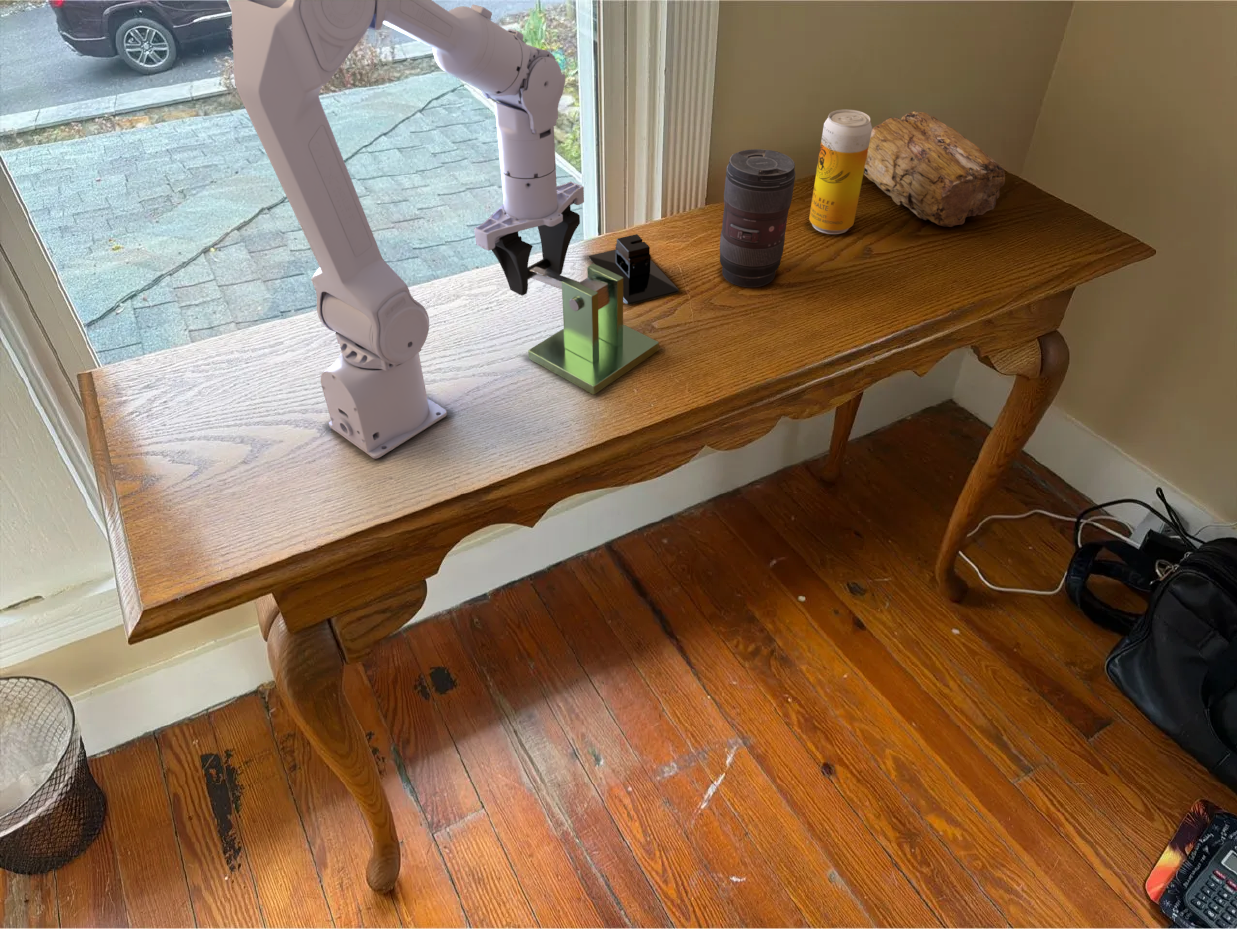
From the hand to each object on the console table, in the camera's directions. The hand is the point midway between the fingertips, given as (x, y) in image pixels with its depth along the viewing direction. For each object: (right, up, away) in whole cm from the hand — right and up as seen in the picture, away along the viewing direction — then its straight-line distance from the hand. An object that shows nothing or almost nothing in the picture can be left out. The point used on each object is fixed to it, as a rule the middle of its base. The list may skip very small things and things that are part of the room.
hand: (536, 281), depth 102 cm
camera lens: (+26, +3, +13) cm, 29 cm away
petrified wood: (+53, +17, +28) cm, 62 cm away
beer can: (+39, +12, +22) cm, 46 cm away
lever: (+3, -2, -2) cm, 5 cm away
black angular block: (+11, +3, +13) cm, 17 cm away
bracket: (+7, -8, 0) cm, 11 cm away
